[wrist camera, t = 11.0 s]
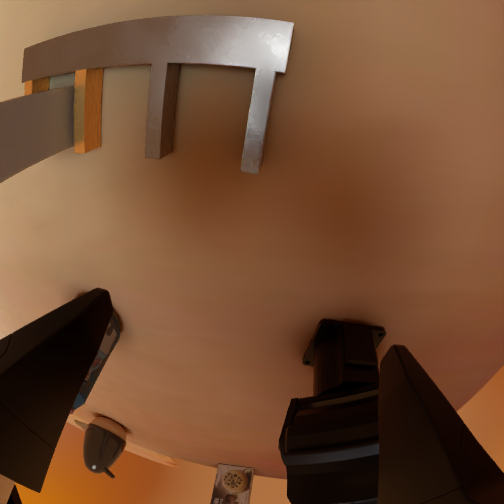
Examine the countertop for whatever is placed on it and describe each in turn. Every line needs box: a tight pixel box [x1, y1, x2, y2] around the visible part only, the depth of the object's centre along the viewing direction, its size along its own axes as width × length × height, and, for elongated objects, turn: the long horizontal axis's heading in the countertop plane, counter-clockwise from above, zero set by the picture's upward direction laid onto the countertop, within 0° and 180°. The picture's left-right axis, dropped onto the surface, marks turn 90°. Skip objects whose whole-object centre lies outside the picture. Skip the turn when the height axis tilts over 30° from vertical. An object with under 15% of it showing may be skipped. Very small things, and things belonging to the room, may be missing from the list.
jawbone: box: [75, 420, 88, 432], centre depth 63 cm, size 9×20×2 cm, turn 127°
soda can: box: [69, 298, 120, 414], centre depth 23 cm, size 7×7×12 cm
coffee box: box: [210, 464, 254, 504], centre depth 51 cm, size 9×6×16 cm
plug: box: [0, 86, 75, 183], centre depth 12 cm, size 4×4×10 cm
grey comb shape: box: [22, 15, 294, 174], centre depth 14 cm, size 9×20×2 cm, turn 81°
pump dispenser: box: [83, 417, 126, 478], centre depth 47 cm, size 10×10×15 cm
